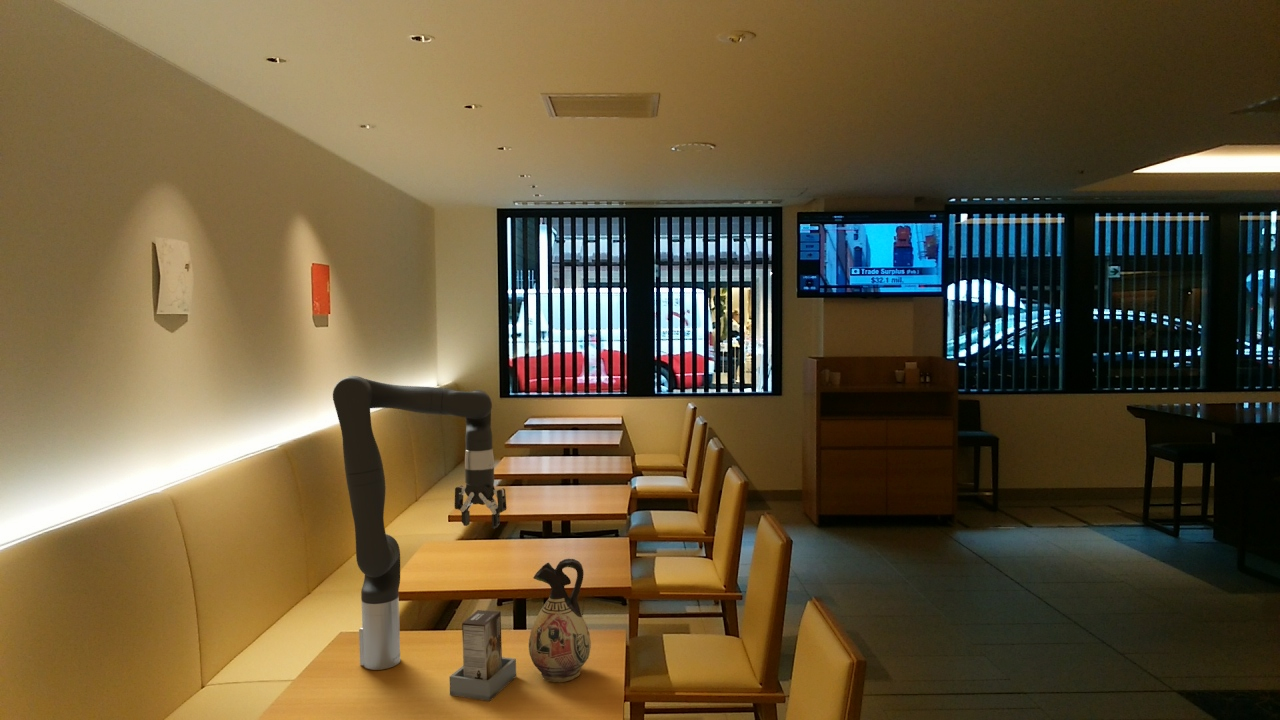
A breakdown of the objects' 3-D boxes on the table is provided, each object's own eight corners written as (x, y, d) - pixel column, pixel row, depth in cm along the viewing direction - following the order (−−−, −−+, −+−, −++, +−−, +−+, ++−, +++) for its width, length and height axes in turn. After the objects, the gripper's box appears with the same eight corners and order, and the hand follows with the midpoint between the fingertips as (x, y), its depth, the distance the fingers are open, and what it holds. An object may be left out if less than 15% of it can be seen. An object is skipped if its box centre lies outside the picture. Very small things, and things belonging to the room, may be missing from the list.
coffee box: (479, 671, 205) (477, 608, 204) (503, 674, 203) (501, 610, 202) (462, 688, 196) (461, 622, 195) (487, 690, 194) (486, 624, 193)
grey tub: (449, 695, 194) (449, 676, 194) (478, 671, 207) (478, 653, 207) (489, 701, 191) (489, 682, 191) (516, 676, 204) (515, 658, 204)
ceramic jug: (524, 689, 197) (522, 567, 195) (534, 662, 212) (532, 548, 211) (594, 689, 197) (592, 567, 195) (599, 662, 212) (598, 548, 210)
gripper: (448, 467, 215) (449, 528, 216) (496, 470, 211) (498, 532, 212) (463, 462, 223) (464, 521, 223) (510, 464, 218) (511, 524, 219)
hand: (480, 526), depth 218 cm, fingers open, 8 cm apart
